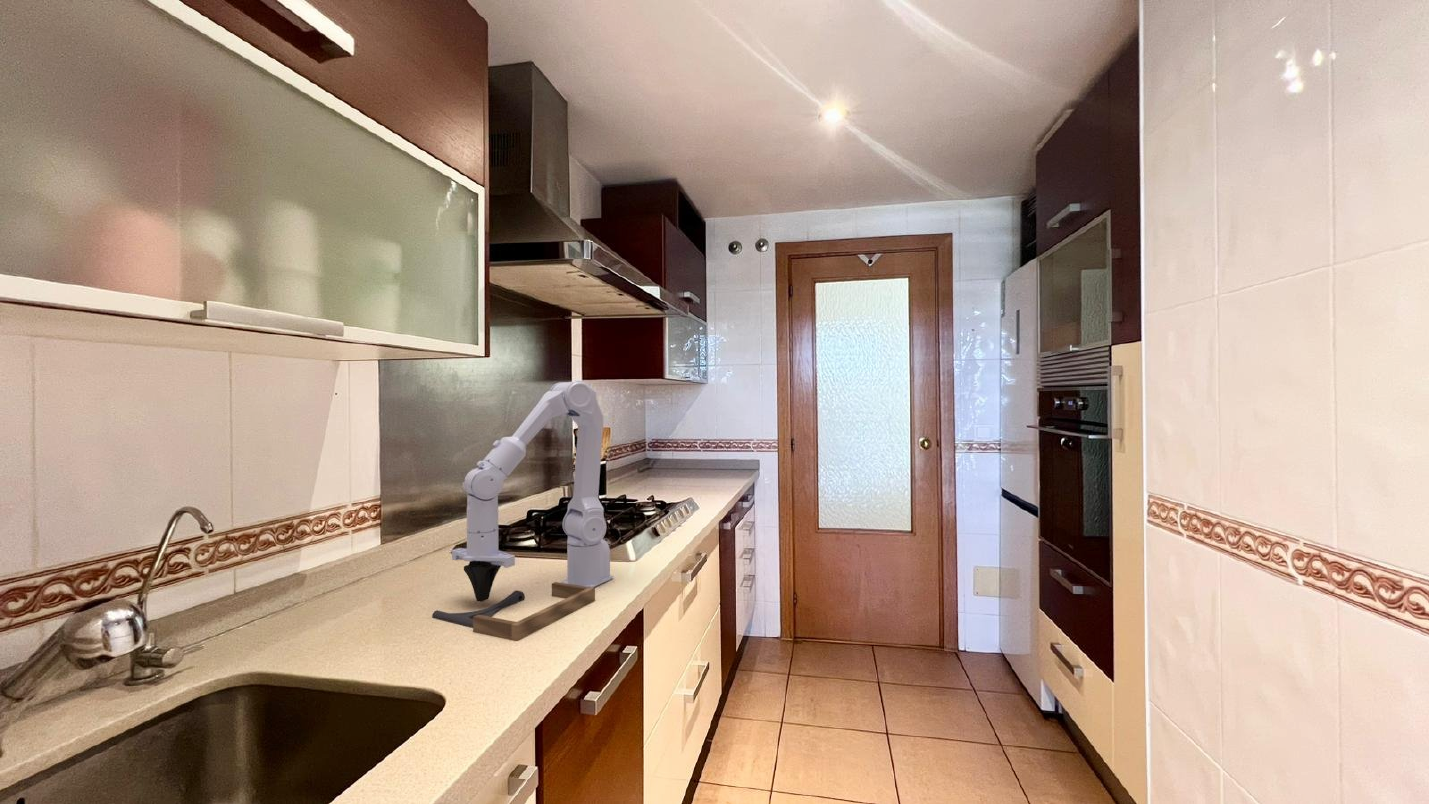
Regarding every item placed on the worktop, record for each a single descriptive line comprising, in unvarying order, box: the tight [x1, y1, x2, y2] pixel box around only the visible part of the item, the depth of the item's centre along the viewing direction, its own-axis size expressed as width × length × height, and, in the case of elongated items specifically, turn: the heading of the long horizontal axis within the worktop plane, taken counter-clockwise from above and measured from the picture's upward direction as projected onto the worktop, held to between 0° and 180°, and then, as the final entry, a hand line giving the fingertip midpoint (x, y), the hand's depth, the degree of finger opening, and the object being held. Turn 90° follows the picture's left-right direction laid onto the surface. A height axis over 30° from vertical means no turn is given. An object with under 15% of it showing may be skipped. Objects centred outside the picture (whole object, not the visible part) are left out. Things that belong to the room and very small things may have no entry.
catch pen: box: [472, 581, 596, 642], centre depth 106 cm, size 21×10×2 cm, turn 156°
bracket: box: [431, 590, 526, 629], centre depth 108 cm, size 14×15×3 cm
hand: (482, 600), depth 112 cm, fingers closed
